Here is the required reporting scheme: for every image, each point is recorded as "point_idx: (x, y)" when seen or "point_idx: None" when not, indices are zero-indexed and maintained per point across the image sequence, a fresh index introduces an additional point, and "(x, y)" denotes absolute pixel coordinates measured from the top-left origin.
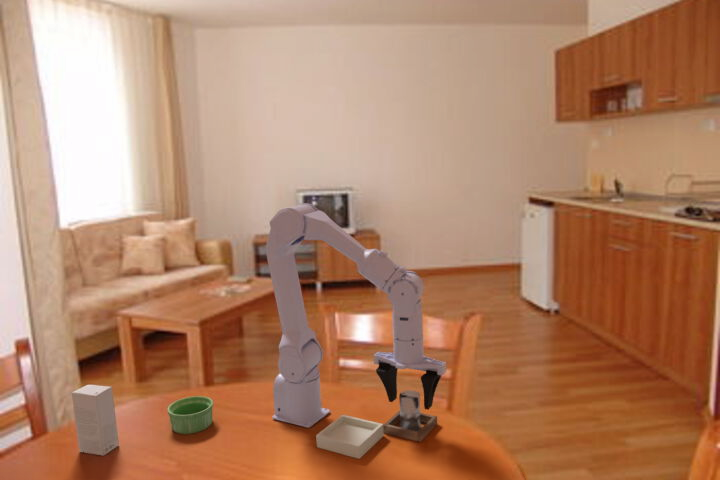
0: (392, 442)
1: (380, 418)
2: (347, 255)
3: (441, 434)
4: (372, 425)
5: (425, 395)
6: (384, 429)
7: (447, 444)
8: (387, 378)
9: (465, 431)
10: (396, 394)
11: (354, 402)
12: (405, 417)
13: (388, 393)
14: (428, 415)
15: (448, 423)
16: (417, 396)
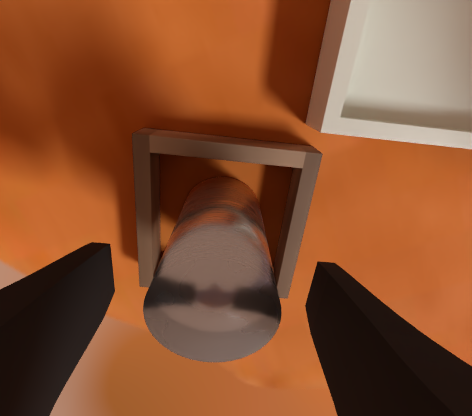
0: (252, 83)
1: (351, 244)
2: None
3: (102, 209)
4: (372, 120)
5: (27, 294)
6: (311, 149)
7: (44, 147)
8: (448, 413)
9: (41, 252)
10: (310, 322)
11: (465, 311)
12: (225, 202)
13: (357, 291)
14: None
15: (117, 281)
16: (152, 309)
